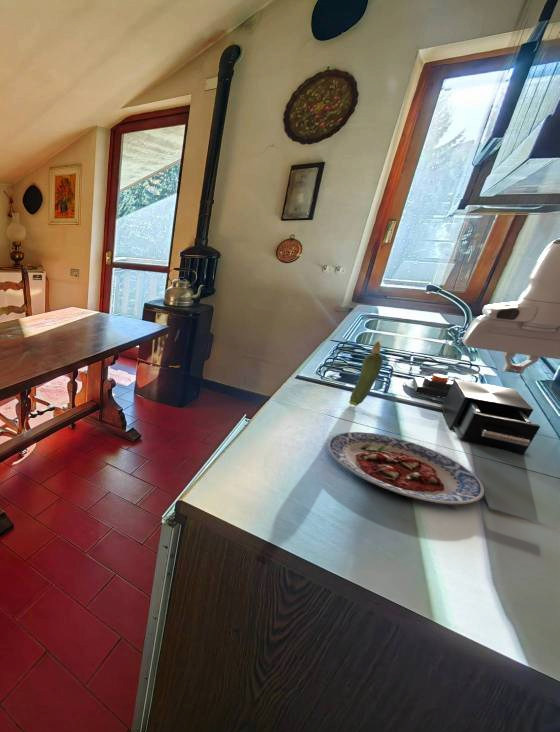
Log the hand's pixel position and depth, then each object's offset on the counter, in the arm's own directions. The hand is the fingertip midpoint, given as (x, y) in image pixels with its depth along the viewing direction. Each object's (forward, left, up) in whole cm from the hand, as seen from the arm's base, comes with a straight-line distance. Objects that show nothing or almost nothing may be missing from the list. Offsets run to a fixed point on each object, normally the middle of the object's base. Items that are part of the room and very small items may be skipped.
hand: (512, 371), depth 90 cm
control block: (+5, -32, -18) cm, 37 cm away
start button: (+5, -32, -15) cm, 35 cm away
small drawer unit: (-1, +2, -17) cm, 17 cm away
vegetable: (+25, -4, -18) cm, 31 cm away
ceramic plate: (+18, +30, -18) cm, 39 cm away
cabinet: (-1, -9, -18) cm, 20 cm away
